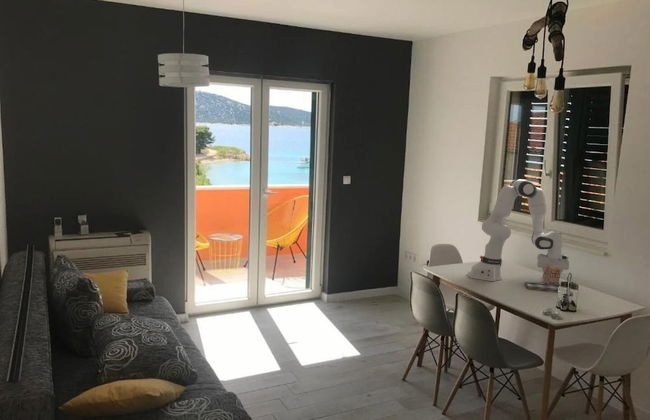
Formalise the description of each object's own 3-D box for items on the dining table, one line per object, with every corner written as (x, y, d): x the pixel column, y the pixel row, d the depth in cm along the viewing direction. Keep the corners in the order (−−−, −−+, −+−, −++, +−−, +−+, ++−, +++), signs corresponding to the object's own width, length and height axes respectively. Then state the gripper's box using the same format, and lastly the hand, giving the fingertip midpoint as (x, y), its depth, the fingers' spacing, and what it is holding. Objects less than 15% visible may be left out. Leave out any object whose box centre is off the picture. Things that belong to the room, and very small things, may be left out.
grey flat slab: (527, 288, 349) (527, 285, 349) (524, 284, 359) (524, 281, 358) (567, 293, 345) (568, 290, 345) (563, 288, 355) (564, 285, 354)
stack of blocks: (542, 277, 380) (544, 260, 378) (551, 278, 379) (553, 260, 377) (548, 285, 360) (551, 267, 357) (558, 286, 358) (561, 268, 356)
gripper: (538, 254, 364) (536, 274, 367) (571, 257, 361) (568, 277, 363) (536, 252, 371) (534, 271, 373) (568, 255, 367) (565, 274, 370)
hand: (551, 274), depth 368 cm, fingers open, 8 cm apart
